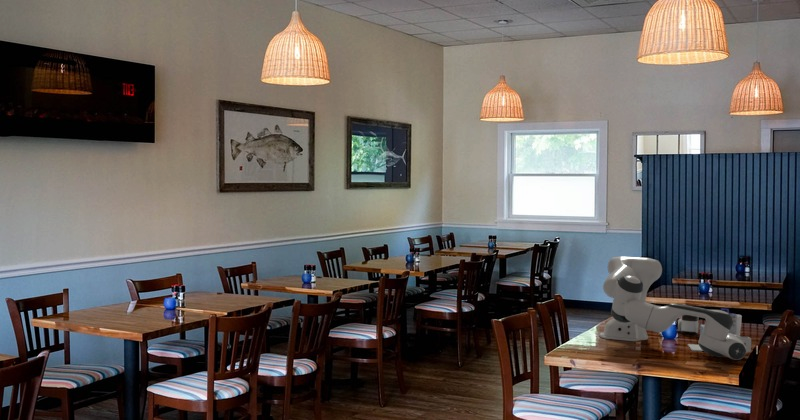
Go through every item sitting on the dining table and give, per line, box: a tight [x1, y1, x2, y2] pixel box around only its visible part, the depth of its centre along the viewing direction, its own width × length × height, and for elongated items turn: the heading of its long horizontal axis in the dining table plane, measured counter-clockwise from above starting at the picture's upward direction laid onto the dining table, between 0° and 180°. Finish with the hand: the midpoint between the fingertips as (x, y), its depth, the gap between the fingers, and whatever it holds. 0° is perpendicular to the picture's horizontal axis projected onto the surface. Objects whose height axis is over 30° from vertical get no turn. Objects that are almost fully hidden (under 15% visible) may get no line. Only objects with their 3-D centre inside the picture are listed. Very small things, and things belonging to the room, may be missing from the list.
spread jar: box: [677, 315, 700, 336], centre depth 397 cm, size 12×11×12 cm
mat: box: [687, 343, 703, 352], centre depth 357 cm, size 9×13×1 cm
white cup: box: [735, 313, 743, 336], centre depth 394 cm, size 8×8×10 cm
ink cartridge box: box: [720, 307, 738, 335], centre depth 383 cm, size 10×6×14 cm, turn 78°
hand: (722, 338), depth 349 cm, fingers open, 8 cm apart
